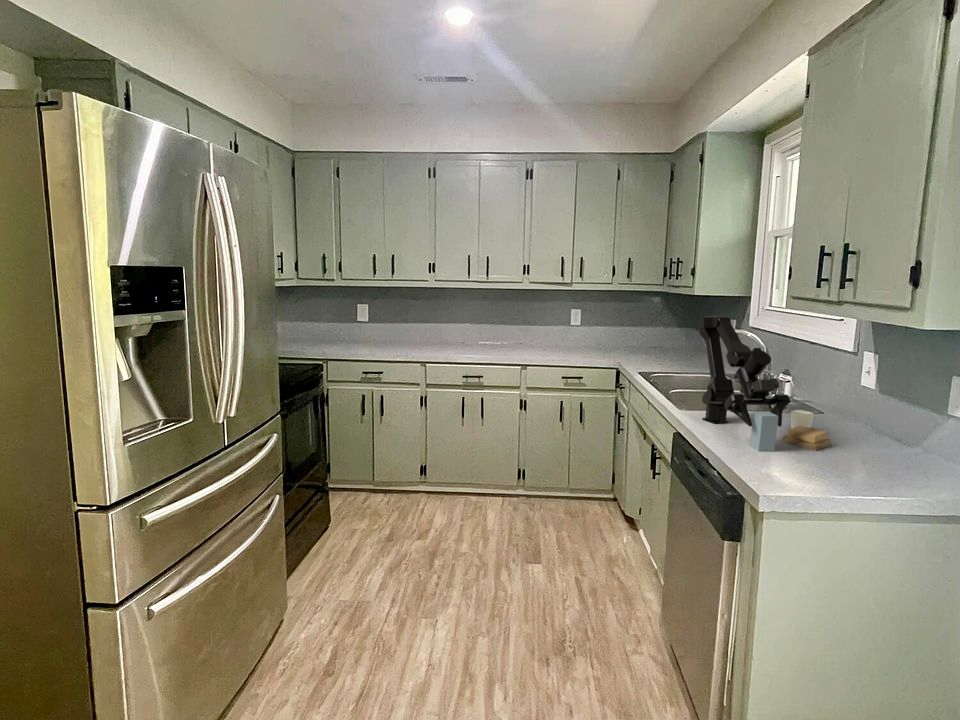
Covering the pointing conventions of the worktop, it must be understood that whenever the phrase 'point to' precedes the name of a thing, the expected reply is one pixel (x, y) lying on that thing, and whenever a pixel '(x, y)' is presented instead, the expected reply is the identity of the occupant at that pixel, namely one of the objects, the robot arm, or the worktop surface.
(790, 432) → the tower top
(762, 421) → the tall block
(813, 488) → the worktop surface
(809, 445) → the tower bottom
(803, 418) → the shot glass
